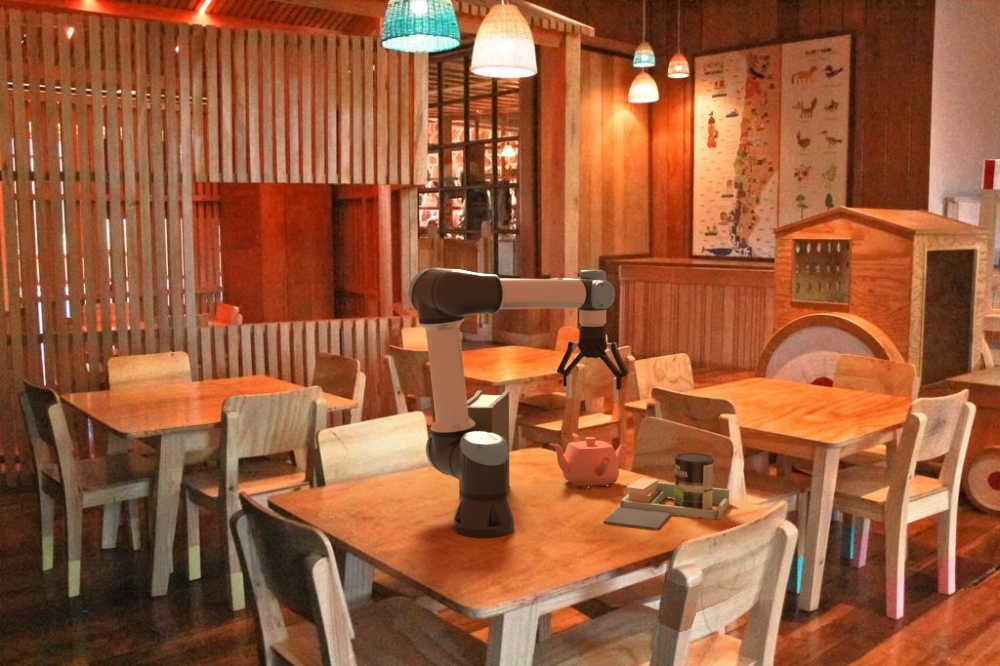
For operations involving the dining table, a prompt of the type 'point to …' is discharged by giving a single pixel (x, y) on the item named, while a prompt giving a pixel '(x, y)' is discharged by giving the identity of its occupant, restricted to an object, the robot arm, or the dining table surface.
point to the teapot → (590, 461)
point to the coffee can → (693, 480)
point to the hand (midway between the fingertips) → (592, 399)
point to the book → (490, 417)
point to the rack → (652, 492)
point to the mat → (637, 518)
